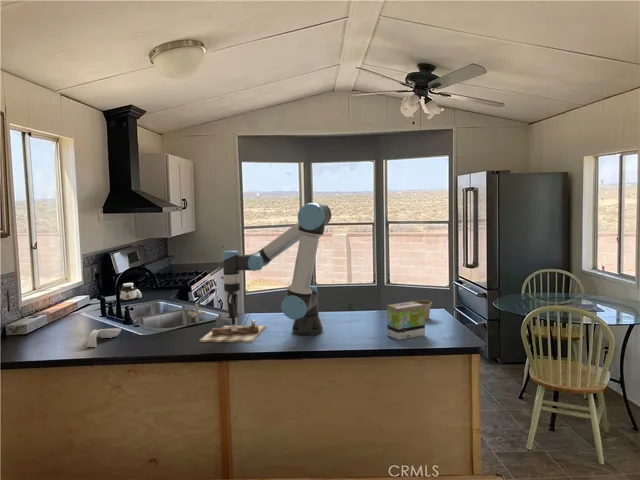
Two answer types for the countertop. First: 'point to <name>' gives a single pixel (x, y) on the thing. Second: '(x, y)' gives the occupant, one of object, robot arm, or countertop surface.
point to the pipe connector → (196, 313)
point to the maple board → (232, 336)
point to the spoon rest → (102, 335)
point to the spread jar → (129, 292)
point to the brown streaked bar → (239, 330)
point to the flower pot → (427, 307)
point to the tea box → (405, 320)
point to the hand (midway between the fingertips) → (234, 330)
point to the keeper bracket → (222, 321)
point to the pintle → (253, 322)
